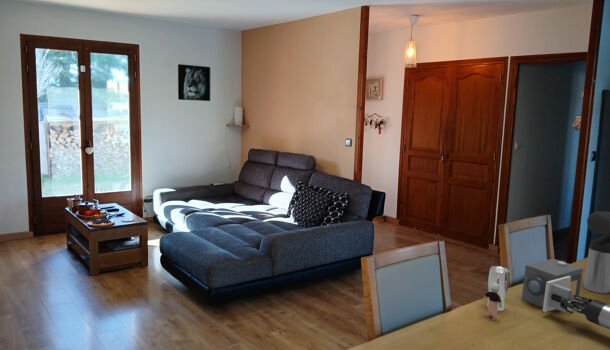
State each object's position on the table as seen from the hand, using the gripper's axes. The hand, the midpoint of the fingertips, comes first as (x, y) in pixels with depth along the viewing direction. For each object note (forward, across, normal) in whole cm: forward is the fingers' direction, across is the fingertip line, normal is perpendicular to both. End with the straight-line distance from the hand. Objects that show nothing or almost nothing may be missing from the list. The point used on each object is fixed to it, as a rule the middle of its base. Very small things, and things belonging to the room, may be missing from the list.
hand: (554, 295), depth 161 cm
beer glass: (+14, +12, +8) cm, 21 cm away
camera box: (+8, -11, +8) cm, 16 cm away
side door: (-2, -4, +6) cm, 7 cm away
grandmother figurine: (+10, +20, +8) cm, 24 cm away
